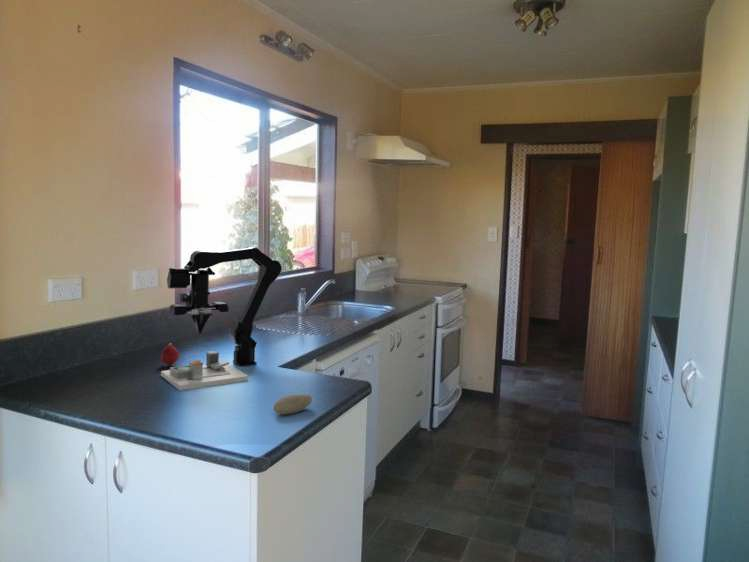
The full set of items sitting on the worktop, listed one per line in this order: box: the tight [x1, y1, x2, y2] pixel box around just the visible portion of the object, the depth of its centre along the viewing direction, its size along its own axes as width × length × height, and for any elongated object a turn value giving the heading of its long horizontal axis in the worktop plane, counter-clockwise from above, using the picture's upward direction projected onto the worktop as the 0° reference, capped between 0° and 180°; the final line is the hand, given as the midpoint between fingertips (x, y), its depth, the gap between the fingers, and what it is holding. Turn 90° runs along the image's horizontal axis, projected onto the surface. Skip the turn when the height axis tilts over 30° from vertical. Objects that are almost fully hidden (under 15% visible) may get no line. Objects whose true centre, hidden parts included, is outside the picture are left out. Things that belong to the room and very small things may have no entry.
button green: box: [177, 367, 190, 372], centre depth 181 cm, size 4×4×2 cm
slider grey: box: [205, 350, 220, 368], centre depth 191 cm, size 3×3×5 cm
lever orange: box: [188, 359, 204, 380], centre depth 178 cm, size 3×3×5 cm
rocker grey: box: [210, 359, 230, 369], centre depth 189 cm, size 5×4×1 cm
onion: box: [160, 342, 180, 367], centre depth 196 cm, size 6×6×8 cm
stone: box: [273, 393, 313, 415], centre depth 156 cm, size 6×6×12 cm
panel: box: [160, 364, 249, 391], centre depth 184 cm, size 22×18×4 cm
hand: (199, 333), depth 195 cm, fingers closed
